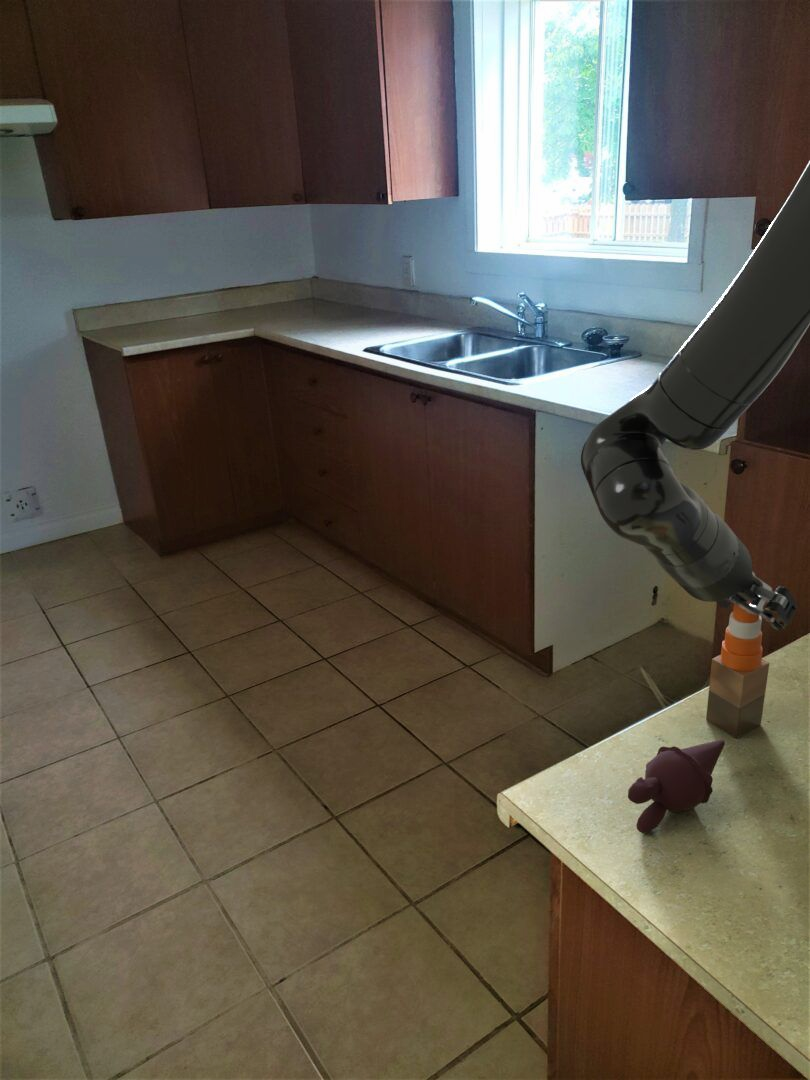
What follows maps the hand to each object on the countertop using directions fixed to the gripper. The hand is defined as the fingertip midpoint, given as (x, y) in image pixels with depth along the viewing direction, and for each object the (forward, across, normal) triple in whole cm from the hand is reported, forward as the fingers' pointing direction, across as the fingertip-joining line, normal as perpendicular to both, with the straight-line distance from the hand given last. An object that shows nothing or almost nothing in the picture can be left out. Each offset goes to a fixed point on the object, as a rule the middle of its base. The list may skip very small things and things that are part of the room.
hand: (754, 611), depth 94 cm
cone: (+3, 0, +6) cm, 6 cm away
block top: (+6, 0, +9) cm, 11 cm away
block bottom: (+10, 0, +12) cm, 15 cm away
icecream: (-2, -4, +23) cm, 23 cm away
